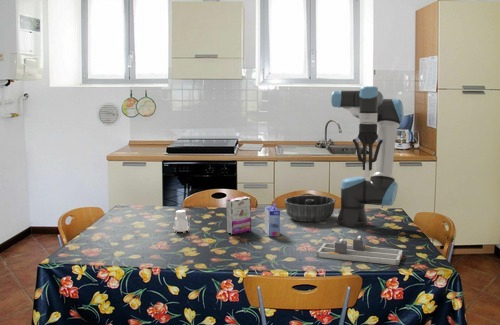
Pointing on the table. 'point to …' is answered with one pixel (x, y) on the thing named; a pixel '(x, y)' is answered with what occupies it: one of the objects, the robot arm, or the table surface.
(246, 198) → the candy bar box
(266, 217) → the ink cartridge box
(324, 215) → the bundt pan
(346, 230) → the table surface
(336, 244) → the tab
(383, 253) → the tray
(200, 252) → the table surface
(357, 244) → the tab
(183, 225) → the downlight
